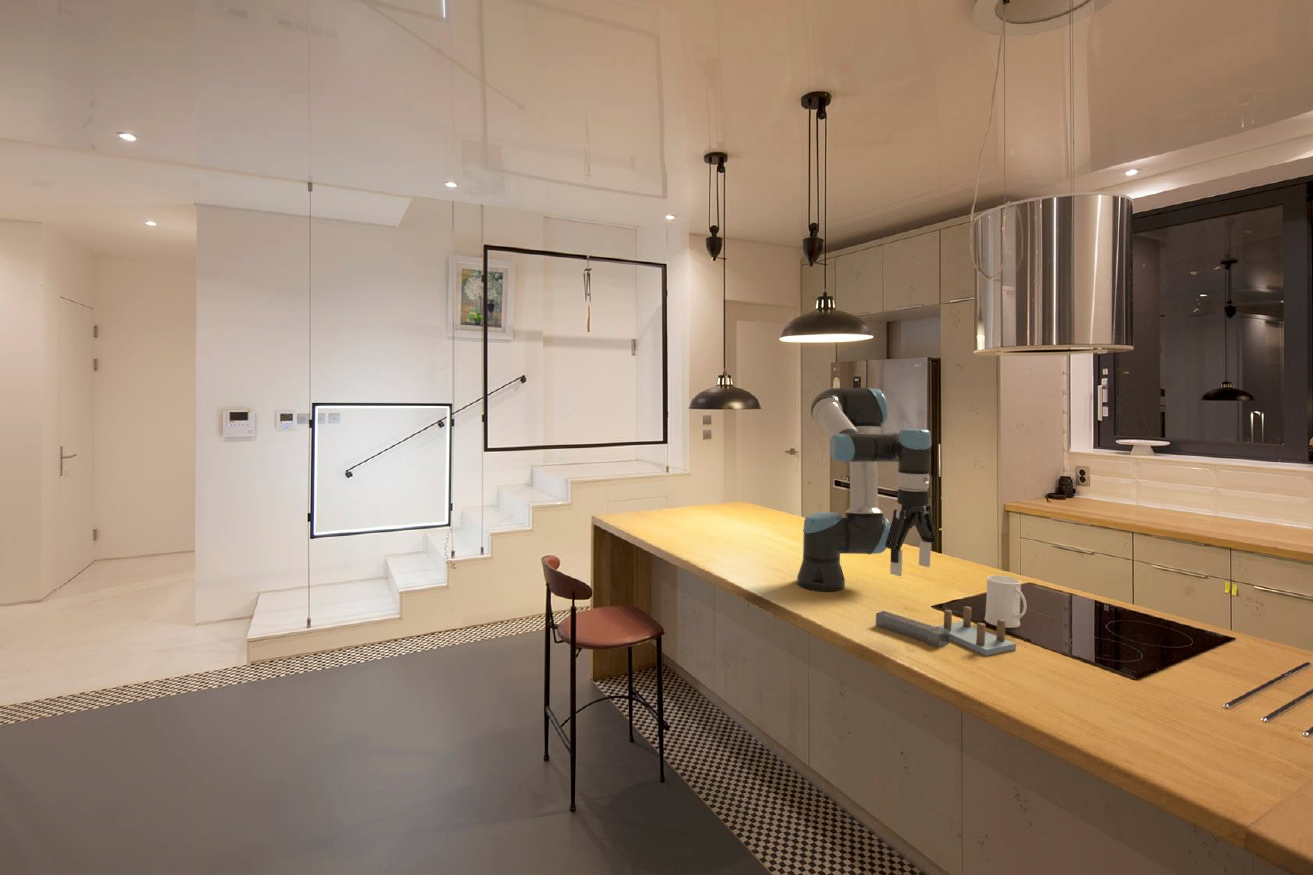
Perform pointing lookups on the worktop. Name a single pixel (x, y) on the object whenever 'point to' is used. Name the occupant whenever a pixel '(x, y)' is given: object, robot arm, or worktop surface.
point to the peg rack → (977, 634)
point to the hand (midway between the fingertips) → (910, 570)
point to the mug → (1004, 600)
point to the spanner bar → (913, 629)
